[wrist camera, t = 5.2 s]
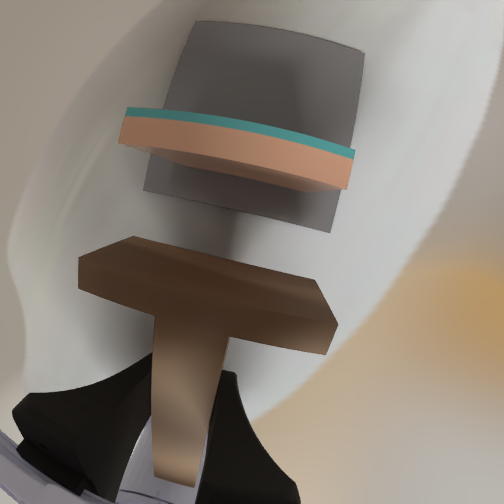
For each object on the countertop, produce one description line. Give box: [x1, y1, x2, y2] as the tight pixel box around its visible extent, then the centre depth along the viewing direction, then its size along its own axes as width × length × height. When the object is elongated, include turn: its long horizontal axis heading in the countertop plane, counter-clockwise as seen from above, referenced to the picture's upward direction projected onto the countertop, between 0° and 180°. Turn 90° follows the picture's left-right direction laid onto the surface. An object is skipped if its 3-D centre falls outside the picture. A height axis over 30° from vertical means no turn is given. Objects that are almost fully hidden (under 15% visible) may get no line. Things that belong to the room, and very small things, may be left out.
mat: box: [143, 21, 365, 233], centre depth 14 cm, size 12×12×1 cm
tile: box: [118, 107, 355, 193], centre depth 11 cm, size 1×7×8 cm, turn 76°
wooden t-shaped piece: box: [78, 236, 338, 488], centre depth 12 cm, size 13×9×4 cm
